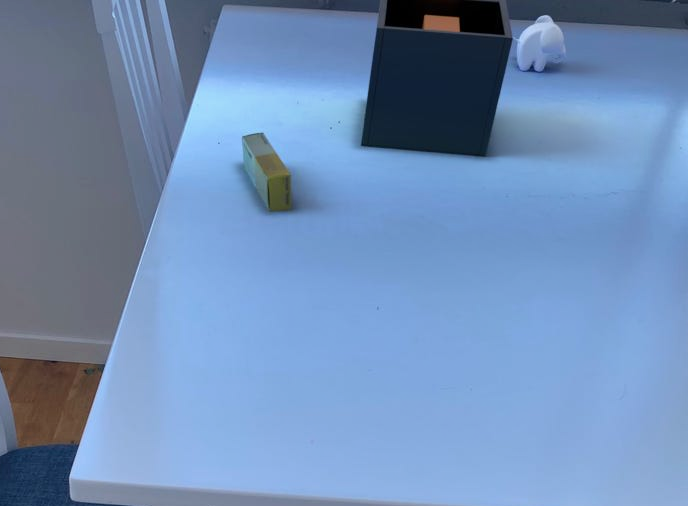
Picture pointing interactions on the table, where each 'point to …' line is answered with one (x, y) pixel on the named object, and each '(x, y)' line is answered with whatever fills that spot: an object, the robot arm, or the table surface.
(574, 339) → the table surface
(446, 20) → the block
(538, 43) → the elephant figurine
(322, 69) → the table surface
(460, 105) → the trash can
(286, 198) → the medication box
